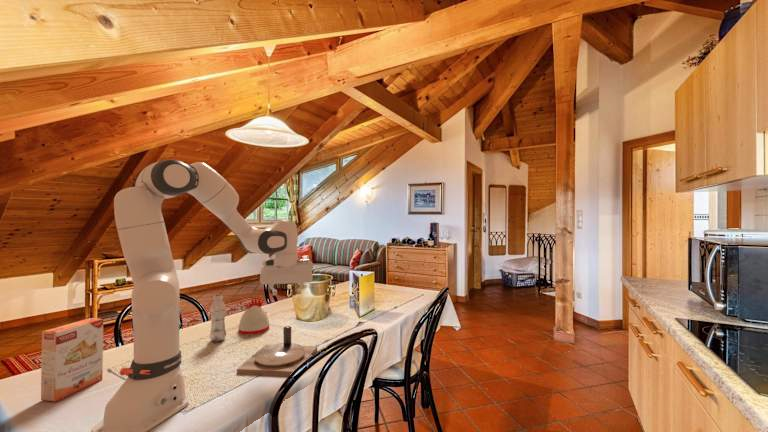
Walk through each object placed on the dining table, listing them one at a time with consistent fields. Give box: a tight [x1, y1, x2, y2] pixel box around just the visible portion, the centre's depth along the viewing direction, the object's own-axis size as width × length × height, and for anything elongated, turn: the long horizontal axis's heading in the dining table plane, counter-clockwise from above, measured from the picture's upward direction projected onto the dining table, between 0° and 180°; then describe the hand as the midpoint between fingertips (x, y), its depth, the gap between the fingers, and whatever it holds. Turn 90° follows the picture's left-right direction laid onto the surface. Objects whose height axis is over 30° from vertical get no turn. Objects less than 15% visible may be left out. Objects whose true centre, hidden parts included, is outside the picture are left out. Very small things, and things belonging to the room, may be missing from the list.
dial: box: [254, 325, 304, 367], centre depth 124 cm, size 18×18×8 cm
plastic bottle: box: [209, 294, 227, 343], centre depth 145 cm, size 6×7×20 cm
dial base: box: [236, 344, 318, 377], centre depth 124 cm, size 22×22×2 cm
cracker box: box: [40, 317, 104, 403], centre depth 104 cm, size 14×6×21 cm, turn 170°
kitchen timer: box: [238, 297, 270, 335], centre depth 159 cm, size 14×14×15 cm
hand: (287, 294), depth 131 cm, fingers open, 8 cm apart
